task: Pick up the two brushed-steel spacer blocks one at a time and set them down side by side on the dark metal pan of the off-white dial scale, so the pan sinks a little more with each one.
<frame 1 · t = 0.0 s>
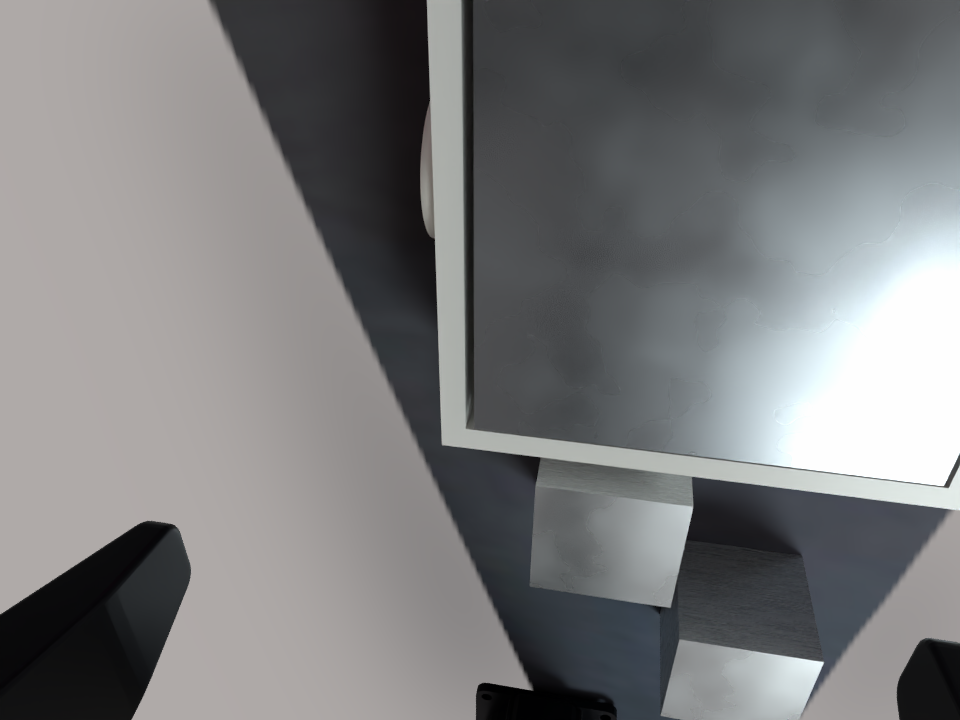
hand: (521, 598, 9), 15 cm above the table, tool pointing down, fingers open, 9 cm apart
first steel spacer: (612, 452, 27), on the table
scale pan: (746, 218, 17), point 4 cm above the table, slide at 0.2 cm
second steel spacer: (726, 584, 30), on the table
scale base: (730, 152, 20), on the table
when the fingers open (7 cm above the table, at t = 5.9 s): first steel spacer drops 2 cm, resting on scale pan.
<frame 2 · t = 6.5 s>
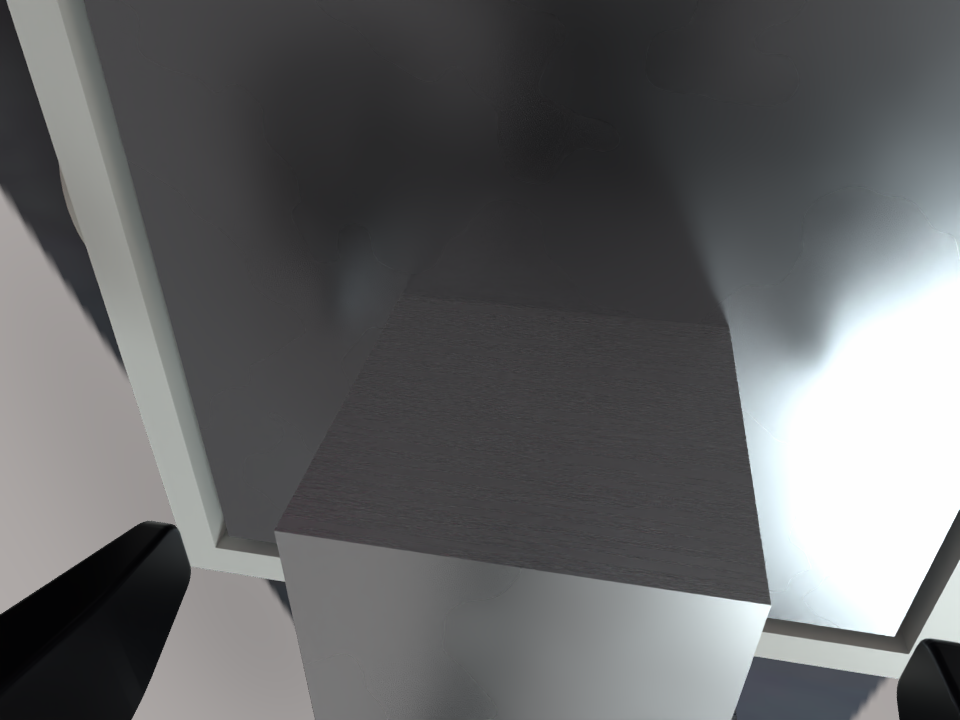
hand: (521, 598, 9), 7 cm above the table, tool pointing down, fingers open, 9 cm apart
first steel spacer: (550, 435, 12), point 4 cm above the table, touching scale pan
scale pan: (566, 243, 10), point 4 cm above the table, slide at 0.6 cm, touching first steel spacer
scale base: (586, 146, 14), on the table
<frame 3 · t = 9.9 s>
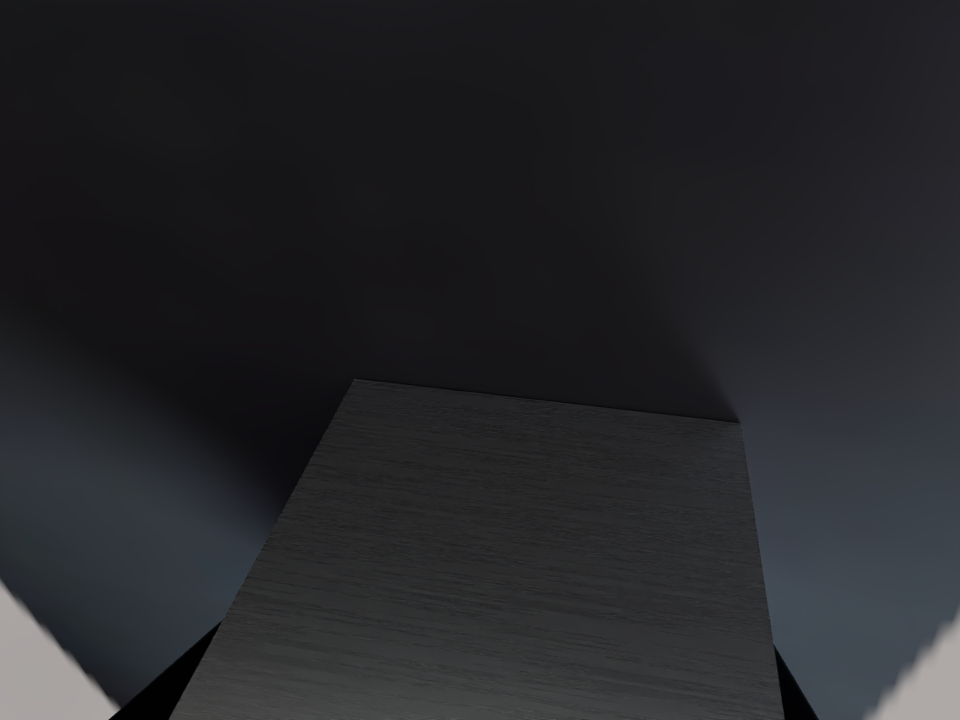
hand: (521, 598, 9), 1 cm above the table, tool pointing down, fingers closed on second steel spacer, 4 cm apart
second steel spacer: (532, 534, 10), on the table, touching gripper
when the fingers open (7 cm above the table, at t = 14.3 s): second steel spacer drops 3 cm, resting on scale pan.
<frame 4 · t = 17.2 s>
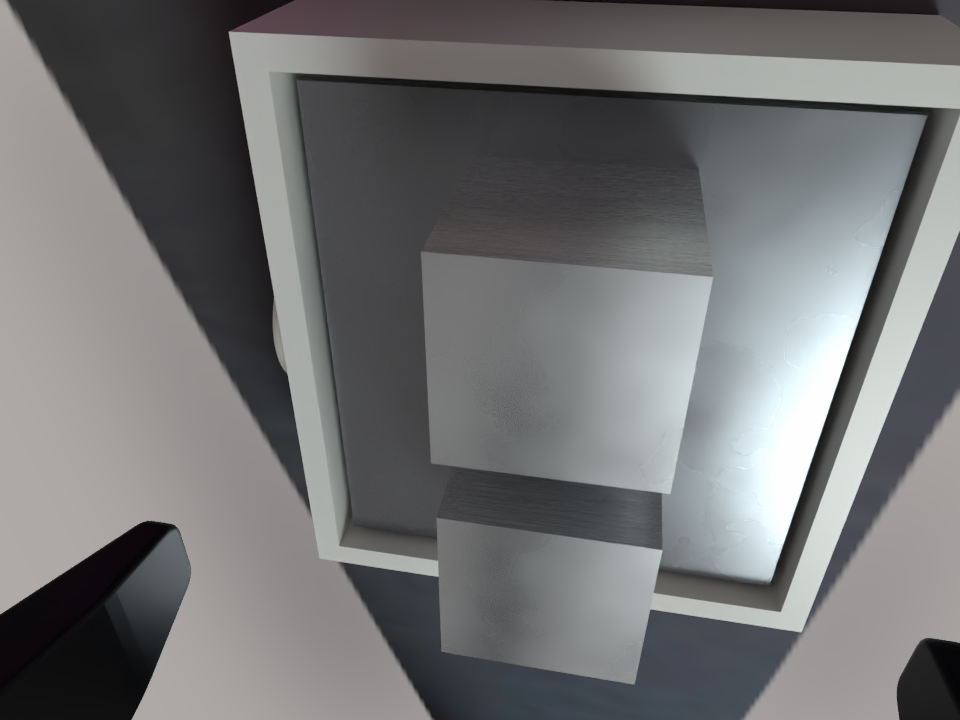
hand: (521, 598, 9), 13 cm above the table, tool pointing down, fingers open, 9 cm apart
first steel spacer: (561, 465, 20), point 4 cm above the table, touching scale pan
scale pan: (570, 360, 19), point 3 cm above the table, slide at 1.1 cm, touching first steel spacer, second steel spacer
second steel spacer: (576, 261, 17), point 4 cm above the table, touching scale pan
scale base: (581, 292, 22), on the table
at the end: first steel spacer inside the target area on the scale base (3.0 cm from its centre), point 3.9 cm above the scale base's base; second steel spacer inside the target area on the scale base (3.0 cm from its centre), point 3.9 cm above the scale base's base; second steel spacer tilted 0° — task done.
